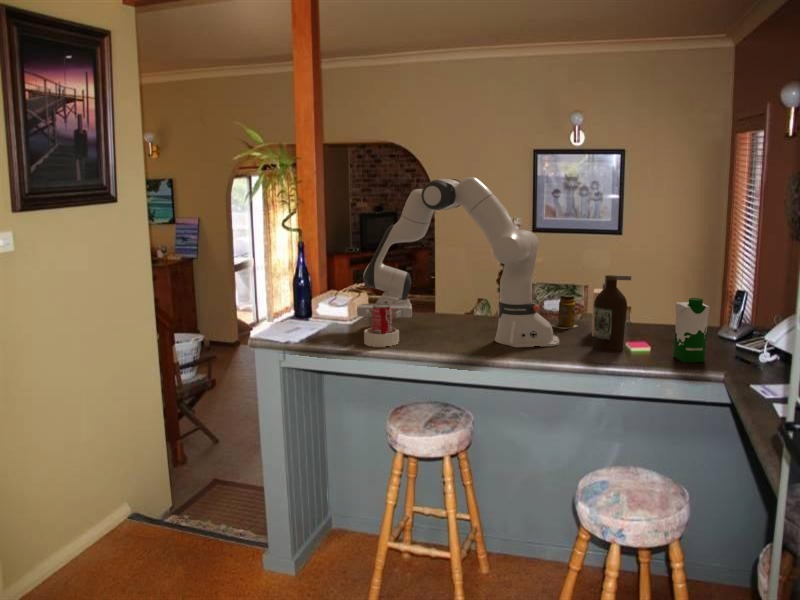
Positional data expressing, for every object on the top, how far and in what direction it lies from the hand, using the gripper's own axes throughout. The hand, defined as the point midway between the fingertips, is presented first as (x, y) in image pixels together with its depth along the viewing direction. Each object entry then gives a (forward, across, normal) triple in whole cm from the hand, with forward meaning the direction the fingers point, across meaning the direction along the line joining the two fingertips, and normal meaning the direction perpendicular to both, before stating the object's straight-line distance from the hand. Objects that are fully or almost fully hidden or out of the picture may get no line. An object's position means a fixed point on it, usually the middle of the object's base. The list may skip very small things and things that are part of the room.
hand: (382, 315), depth 252 cm
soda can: (+3, 0, +9) cm, 10 cm away
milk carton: (+17, +101, +10) cm, 103 cm away
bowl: (+2, 0, +10) cm, 10 cm away
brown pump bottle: (+5, +78, +10) cm, 79 cm away
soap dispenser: (-15, +82, +10) cm, 84 cm away
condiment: (-28, +67, +10) cm, 74 cm away
